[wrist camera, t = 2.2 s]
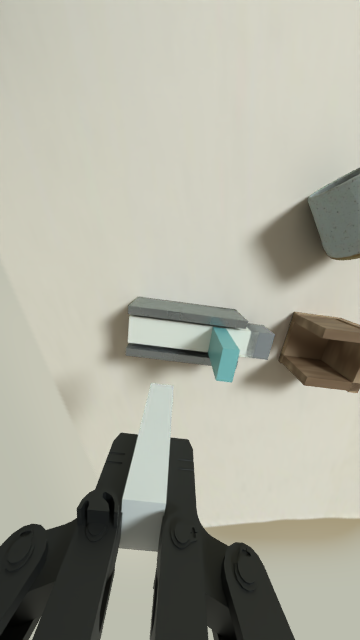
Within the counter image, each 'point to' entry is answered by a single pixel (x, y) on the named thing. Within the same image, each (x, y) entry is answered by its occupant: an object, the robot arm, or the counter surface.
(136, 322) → the rod
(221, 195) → the counter surface
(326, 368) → the socket
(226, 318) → the channel
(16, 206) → the counter surface
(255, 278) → the counter surface
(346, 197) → the ceramic mug
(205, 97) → the counter surface
